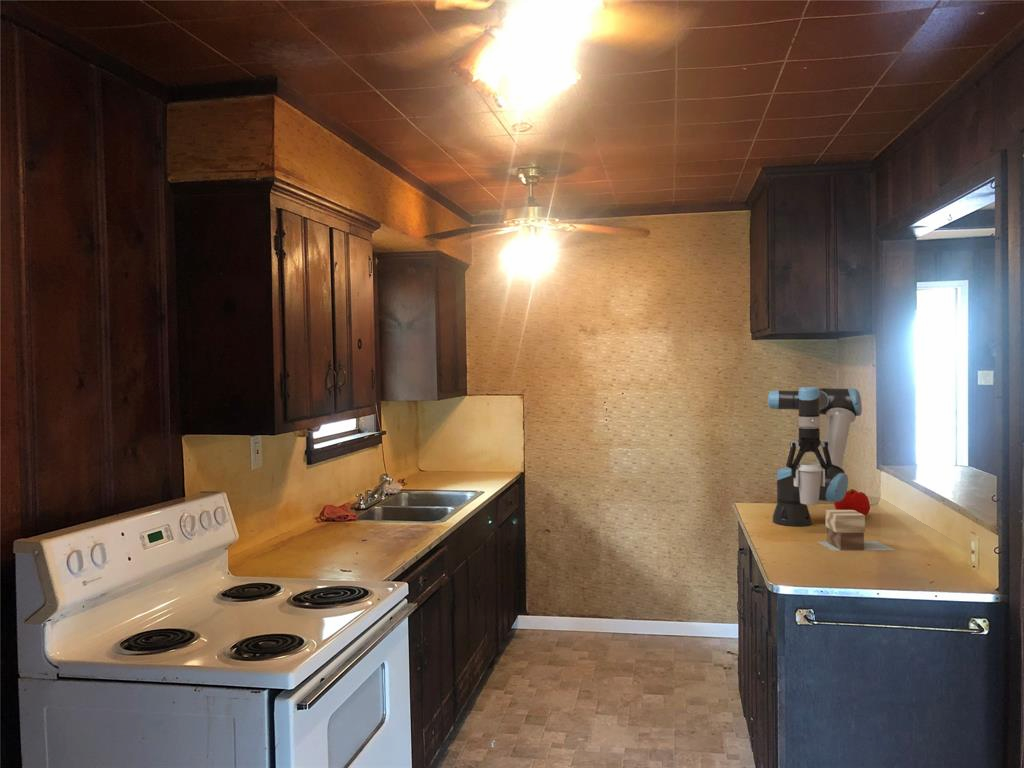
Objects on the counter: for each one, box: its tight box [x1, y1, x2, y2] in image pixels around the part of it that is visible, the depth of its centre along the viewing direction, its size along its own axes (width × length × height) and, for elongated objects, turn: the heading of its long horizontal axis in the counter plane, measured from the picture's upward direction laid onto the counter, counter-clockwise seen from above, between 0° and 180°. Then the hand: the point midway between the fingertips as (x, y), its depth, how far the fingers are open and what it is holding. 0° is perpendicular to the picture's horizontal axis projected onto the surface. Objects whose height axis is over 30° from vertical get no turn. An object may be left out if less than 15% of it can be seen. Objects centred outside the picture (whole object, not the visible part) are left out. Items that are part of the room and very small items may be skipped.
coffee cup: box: [796, 462, 823, 506], centre depth 289 cm, size 10×10×15 cm
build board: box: [817, 540, 896, 552], centre depth 269 cm, size 13×22×1 cm, turn 90°
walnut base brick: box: [826, 527, 865, 551], centre depth 269 cm, size 12×8×6 cm, turn 0°
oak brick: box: [825, 509, 866, 534], centre depth 269 cm, size 10×10×6 cm
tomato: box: [833, 489, 871, 517], centre depth 326 cm, size 13×14×12 cm
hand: (809, 485), depth 289 cm, fingers closed on coffee cup, 9 cm apart
